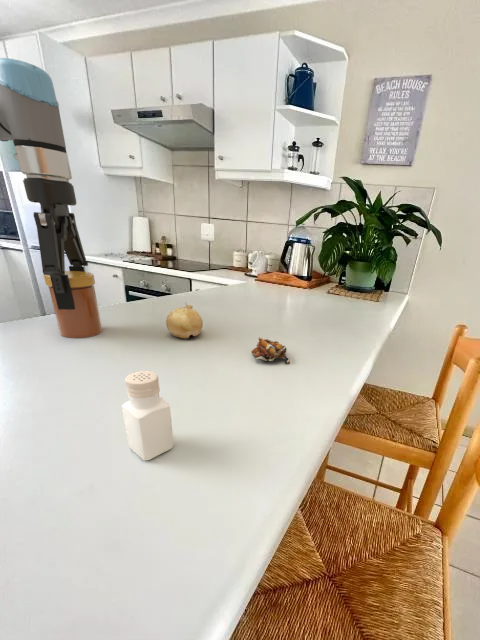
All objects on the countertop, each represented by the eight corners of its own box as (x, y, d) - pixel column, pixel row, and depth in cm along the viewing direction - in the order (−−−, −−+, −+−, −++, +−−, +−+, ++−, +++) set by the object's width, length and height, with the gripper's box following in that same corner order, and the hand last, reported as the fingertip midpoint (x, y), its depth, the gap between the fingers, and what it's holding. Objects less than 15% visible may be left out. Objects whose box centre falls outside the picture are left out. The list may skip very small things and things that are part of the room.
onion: (203, 341, 72) (202, 310, 69) (165, 341, 70) (162, 309, 67) (203, 330, 79) (202, 301, 75) (168, 330, 77) (166, 300, 74)
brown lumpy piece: (277, 343, 74) (278, 328, 73) (291, 364, 64) (293, 347, 63) (247, 343, 73) (247, 328, 71) (256, 365, 62) (257, 348, 61)
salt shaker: (158, 434, 41) (149, 366, 37) (176, 448, 39) (169, 377, 35) (127, 448, 38) (113, 376, 34) (144, 464, 36) (132, 389, 32)
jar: (67, 326, 74) (54, 274, 68) (106, 326, 76) (96, 275, 70) (54, 338, 67) (39, 281, 61) (97, 337, 69) (86, 282, 64)
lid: (38, 287, 62) (35, 277, 61) (53, 279, 69) (51, 270, 68) (89, 288, 64) (87, 278, 63) (99, 280, 71) (97, 271, 70)
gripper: (48, 181, 67) (72, 290, 77) (-11, 169, 47) (31, 317, 58) (88, 185, 69) (107, 291, 79) (48, 175, 49) (79, 317, 59)
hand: (75, 302), depth 68 cm, fingers open, 10 cm apart
